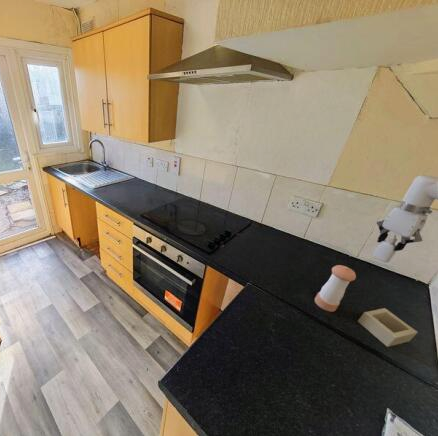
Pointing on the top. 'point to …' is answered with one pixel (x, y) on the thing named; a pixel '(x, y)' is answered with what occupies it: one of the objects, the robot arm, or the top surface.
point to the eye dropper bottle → (385, 249)
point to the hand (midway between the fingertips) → (388, 245)
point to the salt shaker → (334, 288)
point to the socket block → (382, 316)
